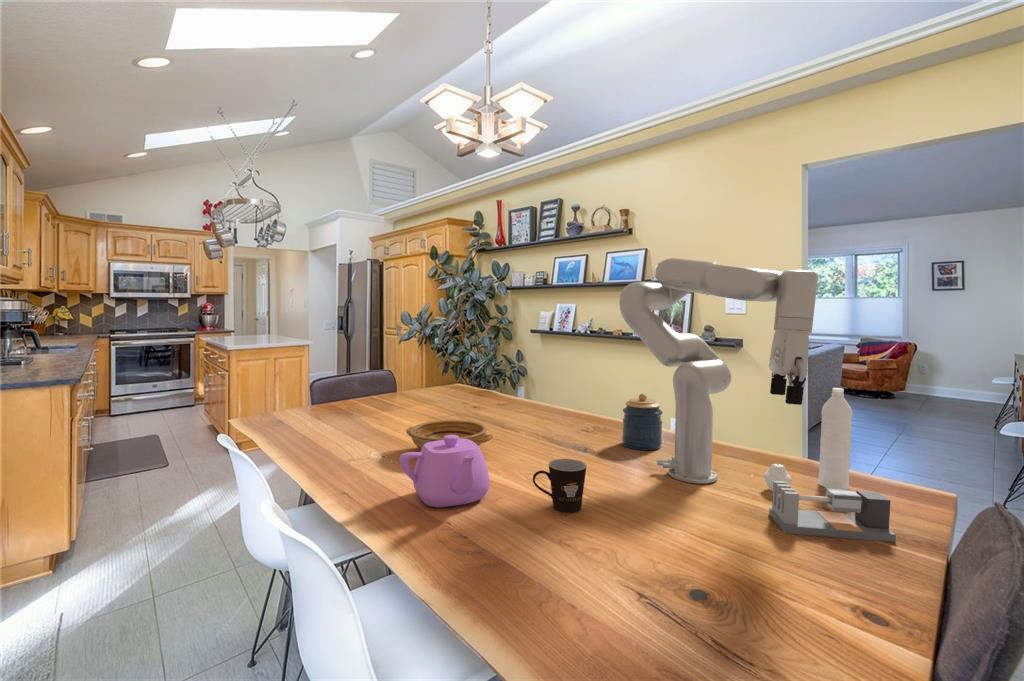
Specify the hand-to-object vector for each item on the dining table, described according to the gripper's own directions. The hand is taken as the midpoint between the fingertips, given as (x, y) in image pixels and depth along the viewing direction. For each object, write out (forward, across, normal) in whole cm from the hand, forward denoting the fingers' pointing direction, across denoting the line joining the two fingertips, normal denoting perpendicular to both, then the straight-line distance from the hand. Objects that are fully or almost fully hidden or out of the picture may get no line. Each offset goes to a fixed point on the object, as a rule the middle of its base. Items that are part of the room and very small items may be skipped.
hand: (785, 399), depth 108 cm
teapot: (+28, +13, -75) cm, 81 cm away
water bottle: (+25, -15, +19) cm, 35 cm away
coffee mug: (+27, +12, -49) cm, 58 cm away
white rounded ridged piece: (+25, -8, +3) cm, 27 cm away
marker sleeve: (+20, +12, +9) cm, 25 cm away
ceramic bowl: (+30, -21, -88) cm, 95 cm away
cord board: (+24, +12, +6) cm, 28 cm away
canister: (+28, -43, -27) cm, 58 cm away
